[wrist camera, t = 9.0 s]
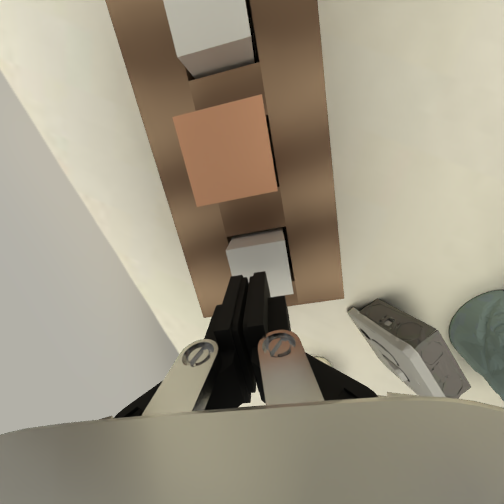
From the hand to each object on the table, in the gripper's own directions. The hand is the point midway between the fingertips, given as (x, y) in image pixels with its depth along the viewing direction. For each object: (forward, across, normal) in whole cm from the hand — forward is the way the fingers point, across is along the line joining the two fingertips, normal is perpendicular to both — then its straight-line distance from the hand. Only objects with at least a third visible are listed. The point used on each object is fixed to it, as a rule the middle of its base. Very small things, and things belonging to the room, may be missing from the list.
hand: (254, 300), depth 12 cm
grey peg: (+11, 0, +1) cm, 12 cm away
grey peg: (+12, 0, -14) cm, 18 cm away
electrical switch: (+12, -11, +13) cm, 21 cm away
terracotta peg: (+8, 0, -6) cm, 11 cm away
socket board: (+13, 0, -6) cm, 14 cm away
